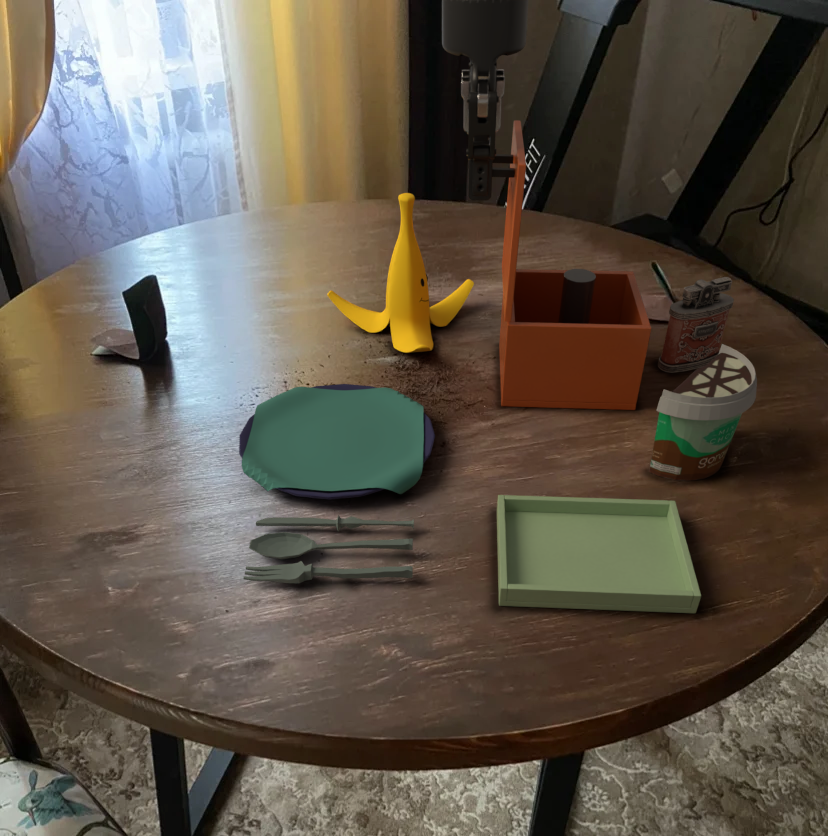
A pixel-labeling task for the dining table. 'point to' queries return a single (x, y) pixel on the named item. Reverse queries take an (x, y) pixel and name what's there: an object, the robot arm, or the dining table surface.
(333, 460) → the cutlery set
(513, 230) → the box lid
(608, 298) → the orange open box
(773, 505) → the dining table surface
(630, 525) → the tray
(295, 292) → the dining table surface
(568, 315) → the black cylinder
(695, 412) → the food container
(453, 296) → the banana peel
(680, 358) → the lighter
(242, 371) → the dining table surface
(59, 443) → the dining table surface
